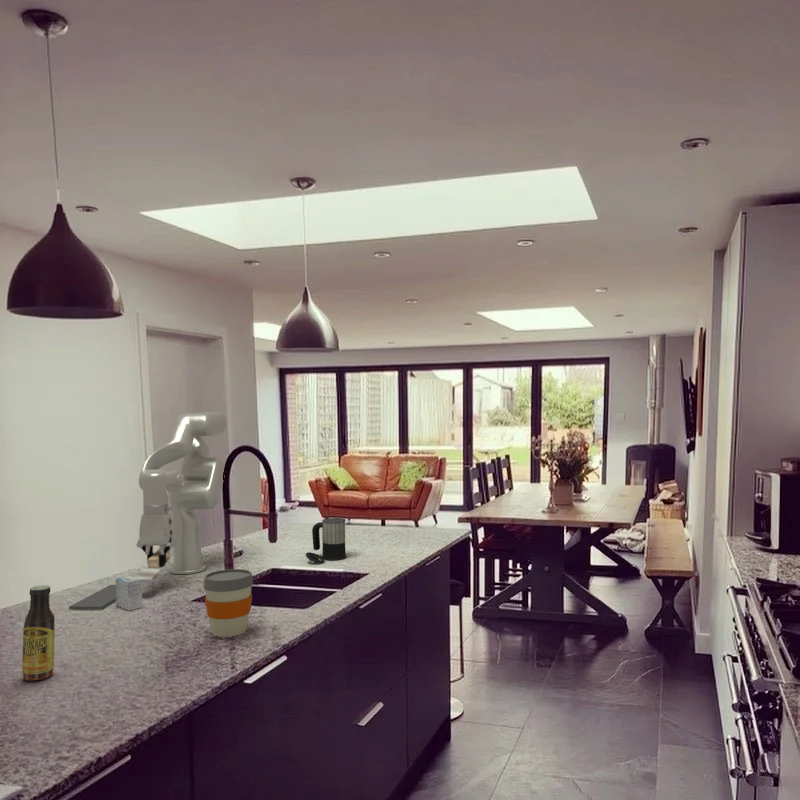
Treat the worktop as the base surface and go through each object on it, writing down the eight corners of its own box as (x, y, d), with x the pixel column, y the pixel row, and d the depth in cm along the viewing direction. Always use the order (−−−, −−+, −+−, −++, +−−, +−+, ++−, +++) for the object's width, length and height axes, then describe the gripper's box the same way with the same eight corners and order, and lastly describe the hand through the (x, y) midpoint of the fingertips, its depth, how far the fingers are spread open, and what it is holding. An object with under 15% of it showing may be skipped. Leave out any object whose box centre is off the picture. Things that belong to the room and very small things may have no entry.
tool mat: (110, 587, 223) (110, 584, 223) (139, 587, 223) (139, 584, 223) (68, 610, 199) (68, 606, 199) (101, 610, 199) (101, 606, 199)
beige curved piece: (157, 558, 227) (156, 547, 227) (174, 558, 227) (173, 547, 226) (132, 583, 210) (131, 571, 209) (151, 583, 209) (149, 571, 208)
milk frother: (348, 555, 263) (347, 517, 264) (340, 565, 248) (340, 524, 248) (313, 555, 265) (312, 517, 265) (303, 565, 249) (302, 524, 249)
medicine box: (142, 608, 200) (142, 578, 200) (128, 611, 197) (127, 581, 197) (130, 603, 205) (129, 574, 205) (115, 606, 202) (115, 577, 202)
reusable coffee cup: (212, 624, 183) (210, 569, 183) (258, 623, 183) (257, 568, 183) (198, 640, 171) (197, 581, 171) (248, 639, 171) (246, 580, 171)
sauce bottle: (16, 683, 146) (15, 591, 147) (31, 671, 153) (29, 584, 153) (47, 681, 147) (46, 590, 147) (60, 670, 153) (59, 583, 153)
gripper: (184, 508, 223) (185, 563, 223) (137, 508, 224) (138, 563, 224) (175, 511, 216) (176, 569, 216) (126, 512, 217) (127, 569, 217)
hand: (156, 565), depth 220 cm, fingers closed on beige curved piece, 3 cm apart
